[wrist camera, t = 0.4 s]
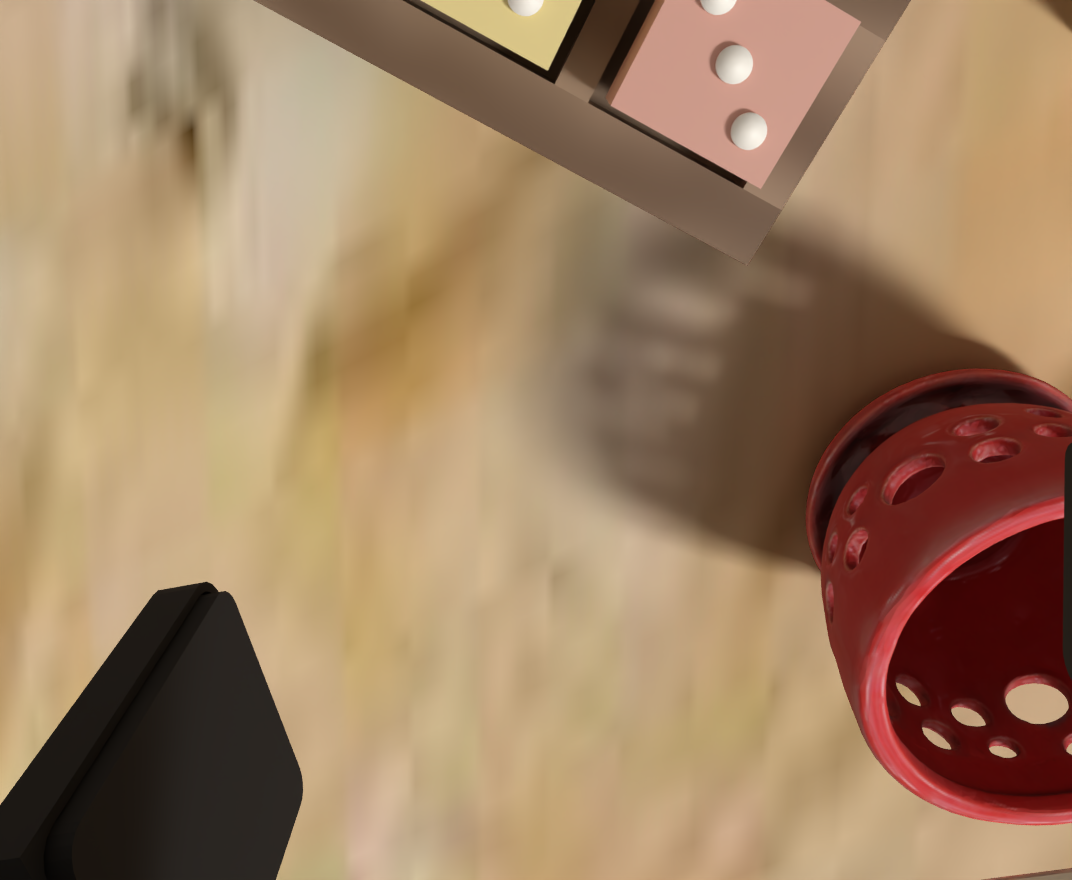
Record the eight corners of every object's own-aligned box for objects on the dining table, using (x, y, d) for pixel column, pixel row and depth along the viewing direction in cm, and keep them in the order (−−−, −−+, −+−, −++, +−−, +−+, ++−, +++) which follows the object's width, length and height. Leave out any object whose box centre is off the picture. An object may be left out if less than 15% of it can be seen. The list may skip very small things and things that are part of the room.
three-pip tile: (686, -62, 28) (704, -74, 24) (827, 22, 29) (863, 21, 25) (605, 97, 30) (610, 106, 26) (740, 172, 30) (762, 190, 27)
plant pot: (732, 422, 38) (802, 583, 27) (1062, 293, 35) (1288, 411, 24) (829, 665, 42) (923, 887, 32) (1127, 566, 40) (1341, 768, 29)
